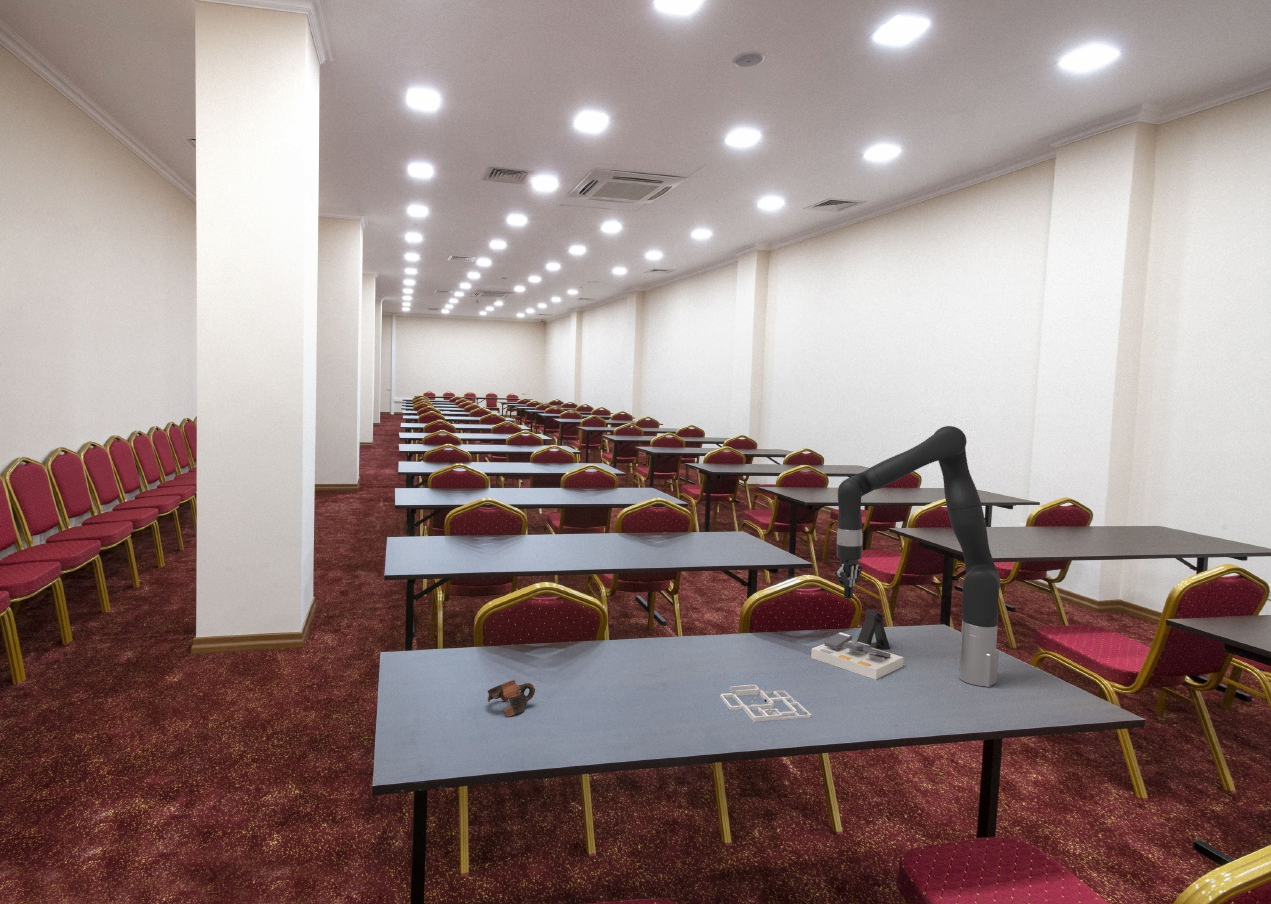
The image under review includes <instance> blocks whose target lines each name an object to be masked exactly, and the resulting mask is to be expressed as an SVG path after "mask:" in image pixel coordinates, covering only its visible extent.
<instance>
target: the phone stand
mask: <svg viewBox="0 0 1271 904" xmlns="http://www.w3.org/2000/svg"><path fill="white" fill-rule="evenodd" d="M883 620H884V617H883V615H882V613H880V612H878V611H876V610H875V609H873V608H868V609H866V611H865V619H864V622H863V625H862V627H861V629H860V632H859V635H858V637H857V639H856V642H861V643H864V644H868V645H871V648H875V649H878V650H881V651H889V650H891V647H890V643H889V640H888V637H887V634H886V629H885V627H884V624H883ZM873 637H875V641H874V642H872V641H873V639H874V638H873Z"/></svg>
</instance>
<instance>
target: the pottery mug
mask: <svg viewBox="0 0 1271 904" xmlns="http://www.w3.org/2000/svg"><path fill="white" fill-rule="evenodd" d="M527 689H528V690H529V691H528V694H527V695H525V692H526V690H527ZM487 693H488V696H487V702H488V703H490V702H491V700H494V699H495V700H499V699H501V700H502V701H503V702H504V703H506V702H507V701H509V702H510V706H507V707H506V708H504V710H503V711H504V713H505V715H506V716H505V717H506V718H509V717H512V716H515V715H517V714H522V713H523V712H525V711H526V710H525V709H526V706H527V704H528V702H529V701H530V700H531V699H533V697H534V696H535V693H536V689H535V687H534V685H533V684H532V683H529V682H526V683H523V684H517V683H516V680H515V679H511V680H509V681H507V682H504V683H502V684H499V685H497V686H494V687H492V688H490V689H488V690H487Z"/></svg>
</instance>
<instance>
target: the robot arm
mask: <svg viewBox="0 0 1271 904" xmlns="http://www.w3.org/2000/svg"><path fill="white" fill-rule="evenodd" d="M967 442H968V441H967V435H965V433H964V431H963V430H962V429H960V428H958V427H956V426H952V425H945V426H942V427H940V428H939V429H937V430H936V431H935V432H934V433H933V434H932V435H931V436H929V437H928V438H927V439H925V440H923V441H922V442H921V443H918V444H917V445H915V446H913V447H911V448H910V449H908V450H905V451H903V452H900V453H899V454H896V455H894V456H892V457H889V458H887V459H884V460H882V461H880V462H879V463H876V464H874V465H873V466H871V467H869V468H867V469H866V470H864V471H861V472H859V473H857V474H855V475H853V476H849V477H847V478H846V479H844V480H843V481H842V482H840V484H839V485H838V488H837V504H838V505H837V507H838V517H837V533H836V557H837V558H838V559H839V560H840V561H839V565H838V566H839V569H837V570H835V571H834V575H835V576H836V579H837V580H838V582H839V585H840V586H843V590H844V591H843V596H844V599H847V600H851V599H853V597H854V587H855V585H856V584H858V582H859V579H860V577H861V575H862V572H863V568H864V567H863V566H861V565H859V561H860V560H861V559H863V532H862V531H863V530H862V529H863V528H862V527H863V525H862V524H863V523H862V522H863V521H862V520H863V518H862V512H861V509H862V508H861V507H862V497H863V496H865V495H867V494H870V493H871V492H873V491H875V490H880V489H882V488H884V487H886V486H888V485H890V484H893V483H895V482H897V481H898V480H901V479H902V478H905V476H907V475H909V474H912V473H913V472H915V471H917V470H918V469H920V468H923V467H925V466H928V465H929V464H933V463H935V462H938V464H939V467H940V470H941V474H942V479H943V489H944V490H943V491H944V498H945V503H946V504H945V505H946V509H947V513H948V518H949V522H950V526H951V528H952V531H953V533H954V536H955V538H956V540H957V542H958V544H959V545H960V548H961V551H962V554H963V560H964V567H965V577H964V578H963V584H962V598H961V600H962V601H961V612H962V619H961V620H962V621H961V635H960V636H961V638H960V640H961V641H960V656H959V672H958V673H959V674H958V677H959V679H960V680H961V681H963V682H965V683H966V684H969V685H973V686H980V687H987V688H990V687H992V686H994V685H995V684H996V683H998V671H999V654H1000V653H999V650H998V649H997V642H998V640H997V639H998V623H999V622H998V621H999V614H998V613H999V599H1000V598H999V596H1000V590H1001V589H1000V588H1001V585H1002V583H1001V577H1000V575H999V572H998V570H997V567H996V565H995V562H994V559H993V556H992V553H991V550H990V549H991V548H990V545H989V538H988V531H987V523H986V519H985V513H984V510H983V505H982V501H981V498H980V494H979V492H978V489H977V486H976V485H975V482H974V479H973V477H972V475H971V472H970V469H969V465H968V464H969V463H968V458H967V451H966V446H967Z"/></svg>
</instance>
